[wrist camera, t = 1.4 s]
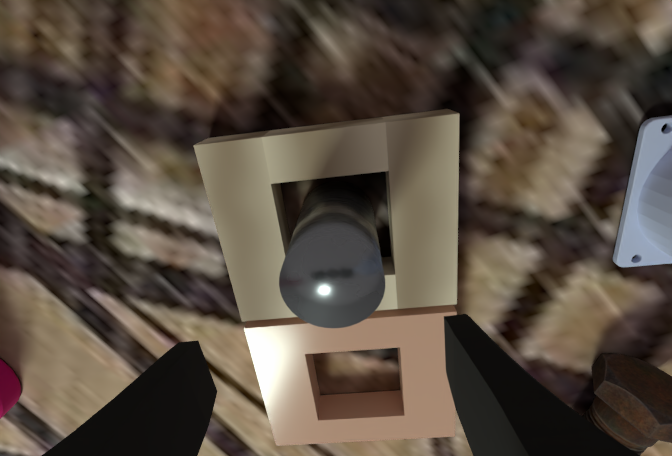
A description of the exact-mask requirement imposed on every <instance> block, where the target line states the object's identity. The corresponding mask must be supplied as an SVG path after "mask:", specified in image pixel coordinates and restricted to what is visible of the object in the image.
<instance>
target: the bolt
mask: <svg viewBox="0 0 672 456" xmlns="http://www.w3.org/2000/svg"><path fill="white" fill-rule="evenodd" d="M592 377H593V387H594V393H595V394H596V395H597V396H596V397H595V398H594V400H593V404H592V405H591V406H590V408H589V409H588V410H587V411H586V412H585V413H584V415H583V416H582V417H584V418H585V419H586V420H588V421H589V422H591V423H592V424H593V425H595V426H596V427H597V428H599V429H600V430H602V431H603V432H605V433H606V434H608V435H609V436H610V437H612V438H613V439H615V440H616V441H618V442H619V443H621V444H622V445H624V446H626V447H627V448H629V449H630V450H632V451H634V452H635V453H637V454H638V455H641V453H643V452H644V450H645V449H646V448H647V447H651V446H653V445H654V444H655V443H656V442H657V441H658V440H660V441H665V442H670V443H672V376H670V375H668V374H667V373H665V372H664V371H662V370H660V369H658V368H656V367H654V366H652V365H651V364H649V363H647V362H645V361H642V360H640V359H638V358H635V357H630V356H626V355H623V354H617V353H608V354H601V355H600V357H599V358H598V359H597V361H596V362H595V363H594V365H593V366H592Z"/></svg>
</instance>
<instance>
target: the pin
mask: <svg viewBox="0 0 672 456" xmlns="http://www.w3.org/2000/svg"><path fill="white" fill-rule="evenodd" d="M279 288H280V292H281V296H282V298H283V300H284V302H285V304H286V305H287V307H288V308H289V309H290V310H291V311H292V312H293V313H294V314H295V315H296V316H297V317H299V318H300V319H302V320H303V321H305V322H307V323H310V324H312V325H315V326H318V327H323V328H344V327H348V326H352V325H355V324H357V323H359V322H361V321H363V320H365V319H366V318H368V317H369V316H370V315H371V314H372V313H373V312H374V311H375V310H376V309H377V308H378V306H379V305H380V303H381V301H382V299H383V296H384V292H385V276H384V270H383V264H382V259H381V253H380V247H379V241H378V235H377V230H376V224H375V218H374V212H373V207H372V204H371V202H370V200H369V198H368V197H367V195H366V194H365V193H364V192H363V191H362V190H361V189H359V188H358V187H356V186H354V185H352V184H350V183H346V182H340V181H333V182H328V183H324V184H322V185H320V186H318V187H316V188H315V189H314V190H312V191H311V192H310V193H309V194H308V196H307V197H306V199H305V201H304V203H303V206H302V209H301V212H300V215H299V218H298V221H297V224H296V227H295V230H294V232H293V235H292V238H291V241H290V244H289V247H288V250H287V253H286V256H285V259H284V262H283V265H282V268H281V271H280V276H279Z"/></svg>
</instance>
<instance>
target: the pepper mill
mask: <svg viewBox="0 0 672 456" xmlns="http://www.w3.org/2000/svg"><path fill="white" fill-rule="evenodd" d="M20 395H21V386H20V382H19V379H18V378H17V376H16V375H15V373H14V371H13V370H12V369H11V368H10V367H9V366H8V365H7V364H6V363H5V362H4V361H3V360H1V359H0V419H1V418H2V417H3V416H4V415H5V414H6V413H7V412H8V411H9V410H10V409H11V408H12V407H13V406H14V405H15V404H16V403H17V401H18V400H19V397H20Z"/></svg>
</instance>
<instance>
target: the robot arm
mask: <svg viewBox="0 0 672 456" xmlns="http://www.w3.org/2000/svg"><path fill="white" fill-rule="evenodd" d="M666 123H667V127H666V129H665V130H664V131H663V132H661V129H662V126H663V125H664V124H666ZM635 255H636V257H635V258H634V259H632V257H633V256H635ZM613 261H614V263H616V264H617V265H618V266H620V267H633V266H645V265H657V264H668V263H672V115H671V116H663V117H654V118H650V119H648V120H646V121H645V122H644V123H643V124H642V125H641V127H640V129H639V134H638V139H637V144H636V149H635V154H634V158H633V163H632V168H631V173H630V178H629V183H628V187H627V192H626V197H625V202H624V207H623V212H622V217H621V221H620V226H619V231H618V236H617V241H616V246H615V250H614V255H613ZM444 334H445V361H446V374H447V378H448V382H449V386H450V390H451V393H452V397H453V401H454V405H455V408H456V411H457V413H458V416H459V419H460V422H461V424H462V427H463V429H464V432H465V435H466V437H467V440H468V443H469V445H470V448H471V451H472V453H473V456H640V455H638V454H637V453H635V452H634V451H632V450H630V449H629V448H627V447H626V446H624V445H622V444H621V443H619V442H618V441H616V440H615V439H613V438H612V437H610V436H609V435H608V434H606V433H605V432H603V431H602V430H600V429H599V428H597V427H596V426H595V425H593V424H592V423H591V422H589V421H588V420H586V419H585V418H584V417H582V416H581V415H579V414H578V413H577V412H575V411H574V410H573V409H572V408H570V407H569V406H568V405H566V404H565V403H564V402H562V401H561V400H560V399H559V398H557V397H556V396H555V395H554V394H552V393H551V392H550V391H549V390H548V389H546V388H545V387H544V386H543V385H541V384H540V383H539V382H538V381H537V380H536V379H534V378H533V377H532V376H531V375H530V374H529V373H527V372H526V371H525V370H524V369H523V368H522V367H521V366H520V365H519V364H517V363H516V362H515V361H514V360H513V359H512V358H511V357H510V356H509V355H507V354H506V353H505V352H504V351H503V350H502V349H501V348H500V347H499V346H498V345H497V344H496V343H495V342H494V341H493V340H492V339H491V338H490V337H489V336H488V335H487V334H486V333H485V332H484V331H483V330H482V329H481V328H480V327H479V326H478V325H477V324H476V323H475V322H474V321H473V320H472V319H471V318H470V317H469V316H468V315H467V314H463V315H452V316H444ZM216 394H217V390H216V387H215V384H214V382H213V379H212V376H211V374H210V371H209V368H208V366H207V363H206V360H205V358H204V355H203V352H202V350H201V347H200V344H199V342H198V341H190V342H180V343H178V344H176V345H175V346H174V347H172V348H171V349H170V350H169V351H168V352H166V353H165V354H164V355H163V356H162V357H161V358H159V359H158V360H157V361H156V362H155V363H154V364H153V365H151V366H150V367H149V368H148V369H147V370H146V371H145V372H144V373H142V374H141V375H140V376H139V377H138V378H137V379H136V380H134V381H133V382H132V383H131V384H130V385H129V386H128V387H126V388H125V389H124V390H123V391H122V392H121V393H120V394H118V395H117V396H116V397H115V398H114V399H113V400H111V401H110V402H109V403H108V404H107V405H105V406H104V407H103V408H102V409H101V410H99V411H98V412H97V413H96V414H94V415H93V416H92V417H91V418H90V419H88V420H87V421H86V422H85V423H84V424H82V425H81V426H80V427H79V428H77V429H76V430H75V431H74V432H72V433H71V434H70V435H69V436H67V437H66V438H65V439H63V440H62V441H61V442H59V443H58V444H57V445H56V446H54V447H53V448H52V449H50V450H49V451H47V452H46V453H45V454H43V455H42V456H197V455H198V452H199V450H200V447H201V444H202V442H203V439H204V437H205V434H206V431H207V428H208V425H209V422H210V418H211V414H212V411H213V407H214V402H215V398H216Z"/></svg>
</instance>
